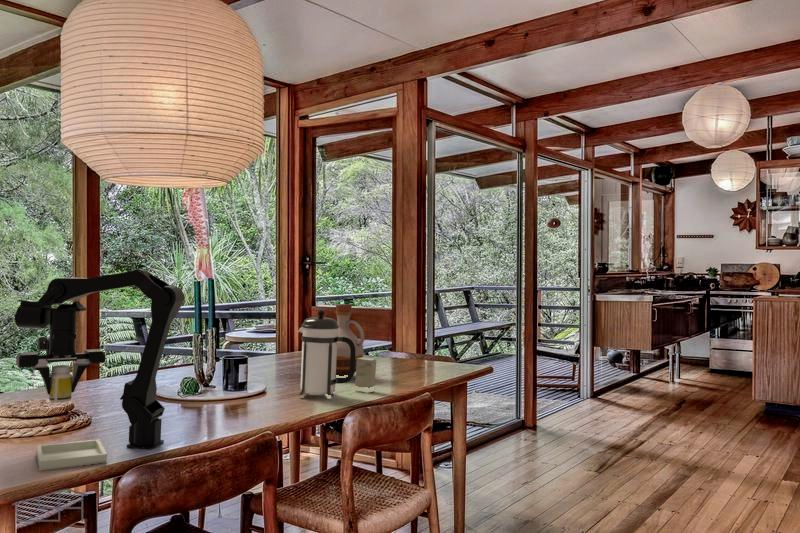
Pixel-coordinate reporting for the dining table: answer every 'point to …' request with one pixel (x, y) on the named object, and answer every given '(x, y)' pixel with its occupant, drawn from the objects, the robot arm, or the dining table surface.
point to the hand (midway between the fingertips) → (60, 393)
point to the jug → (344, 348)
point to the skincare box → (365, 372)
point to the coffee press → (322, 355)
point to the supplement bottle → (60, 384)
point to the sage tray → (70, 454)
